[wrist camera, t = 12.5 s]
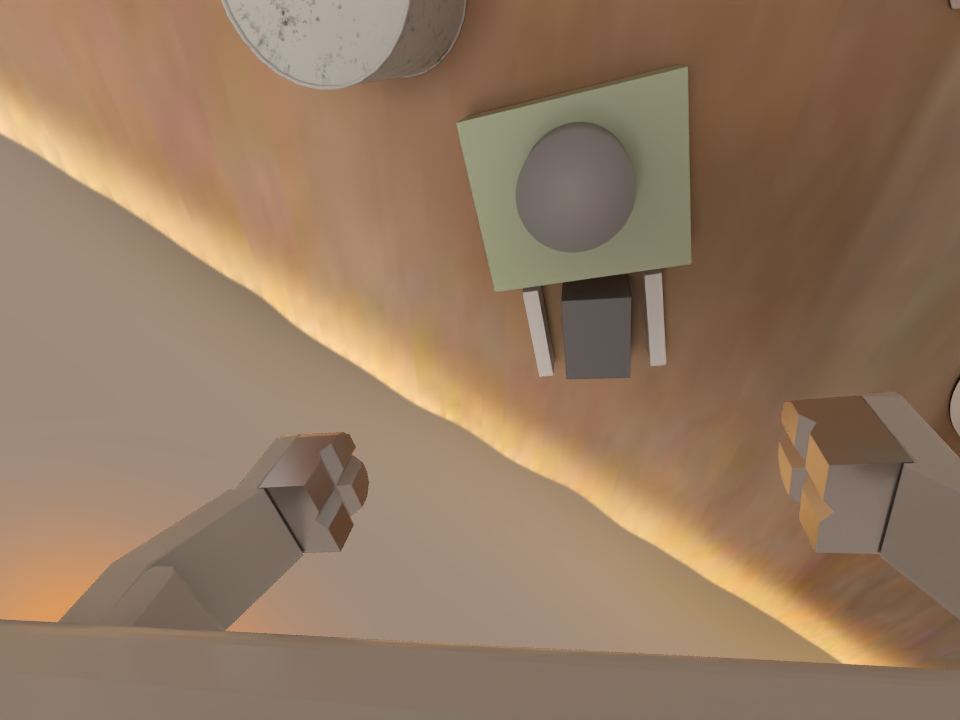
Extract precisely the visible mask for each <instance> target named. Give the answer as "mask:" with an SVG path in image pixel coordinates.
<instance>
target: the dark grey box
mask: <svg viewBox="0 0 960 720" xmlns="http://www.w3.org/2000/svg"><path fill="white" fill-rule="evenodd" d="M561 303H562V318H563V333H564V349H565V364H566V379H597V378H630V353H631V293H630V288H629V283H628V278H627V274H625V275H611V276H604V277H597V278H590V279H583V280H576V281H569V282H563V288H562V300H561Z"/></svg>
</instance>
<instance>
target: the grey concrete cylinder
mask: <svg viewBox="0 0 960 720" xmlns="http://www.w3.org/2000/svg"><path fill="white" fill-rule="evenodd" d="M221 2H222V4H223V6H224V9H225V11H226V13H227V16H228V18H229V19H230V21H231V23H232V24H233V26H234V27H235V29H236V31H237V32H238V34H239V35H240V37H241V39H242V40H243V41H244V43H245V44H246V45H247V46H248V47H249V48H250V49H251V51H252V52H253V53H254V54H255V55H256V56H257V57H258V58H259V60H260V61H262V62H263V63H264V64H266V65H267V66H268V67H269V68H271V69H272V70H273V71H274V72H276V73H277V74H278V75H280V76H282V77H284V78H286V79H288V80H290V81H292V82H294V83H296V84H298V85H300V86H304V87H309V88H313V89H318V90H334V89H343V88H346V87H349V86H352V85H355V84H362V83H368V82H374V81H380V80H386V79H393V78H403V77H413V76H416V75H419V74H422V73H425V72H427V71H429V70H430V69H432V68H433V67H435V66H436V65H438V64H439V63H440V62H441V61H442V60H443V59H444V57H445V56H446V55H447V54H448V53H449V52H450V50H451V49H452V47H453V45H454V43H455V42H456V40H457V38H458V36H459V33H460V30H461V27H462V24H463V21H464V17H465V10H466V2H467V0H221Z"/></svg>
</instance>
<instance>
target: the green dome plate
mask: <svg viewBox="0 0 960 720" xmlns="http://www.w3.org/2000/svg"><path fill="white" fill-rule="evenodd" d="M456 125H457V129H458V134H459V138H460V142H461V147H462V151H463V155H464V160H465V164H466V168H467V173H468V177H469V181H470V186H471V190H472V195H473V199H474V203H475V208H476V212H477V216H478V221H479V225H480V229H481V234H482V238H483V242H484V247H485V251H486V255H487V260H488V264H489V268H490V273H491V277H492V281H493V286H494V290H495V292H500V291H507V290H514V289H521V288H524V289H523V297H524V302H525V307H526V312H527V317H528V322H529V327H530V332H531V337H532V342H533V347H534V352H535V357H536V362H537V367H538V372H539V377H541V376H552V375H553V372H554V362H555V359H554V354H553V348H552V342H551V337H550V331H549V326H548V320H547V315H546V309H545V303H544V298H543V292H542V287H541V286H542V285H549V284H556V283H562V282H569V281H576V280H583V279H590V278H597V277H604V276H611V275H618V274H625V273H632V272H639V271H642V280H643V295H644V309H645V323H646V337H647V351H648V356H649V360H650V365H651V366H658V365H666V350H665V330H664V310H663V290H662V273H661V270H660V268H667V267H674V266H681V265H688V264H691V214H690V159H689V104H688V67H687V66H681V65H674V66H670V67H666V68H662V69H657V70H653V71H649V72H645V73H641V74H637V75H633V76H629V77H625V78H621V79H617V80H613V81H609V82H604V83H600V84H596V85H592V86H588V87H584V88H580V89H576V90H572V91H568V92H564V93H560V94H556V95H551V96H547V97H543V98H539V99H535V100H531V101H527V102H523V103H519V104H515V105H511V106H507V107H503V108H498V109H494V110H490V111H486V112H482V113H478V114H474V115H470V116H467V117H465V118H464V119H462V120H460V121H459V122H457V123H456Z"/></svg>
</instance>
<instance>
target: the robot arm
mask: <svg viewBox="0 0 960 720" xmlns="http://www.w3.org/2000/svg"><path fill="white" fill-rule="evenodd" d="M950 416H951V421H952V424H953V426H954V428H955V430H956V432H957V433H958V435H959V436H960V381H959V382H958V384H957V386H956V388H955V390H954V393H953V396H952V400H951V405H950ZM781 422H782V424H783V426H784V428H785V430H786V432H787V434H786V435H785V436H784V437H783V438H782V439H781V440H780V441H779V451H778V459H779V467H780V474H781V477H782V480H783V484H784V486H785V488H786V491H787V493H788V495H789V497H790V498H792V499H793V500H795V501H796V502H798V503H799V504H800V513H799V519H800V521H801V524H802V526H803V528H804V530H805V532H806V534H807V536H808V538H809V541H810V543H811V545H812V547H813V549H814V551H815V552H819V553H859V554H880V557H881V558H882V559H883V560H884V561H886V562H887V563H888V564H890V565H891V566H892V567H893V568H895V569H896V570H897V571H898V572H900V573H901V574H902V575H904V576H905V577H906V578H907V579H909V580H910V581H911V582H912V583H914V584H915V585H916V586H918V587H919V588H920V589H921V590H923V591H924V592H925V593H926V594H928V595H929V596H930V597H932V598H933V599H934V600H935V601H937V602H938V603H939V604H940V605H942V606H943V607H944V608H946V609H947V610H948V611H949V612H951V613H952V614H953V615H954V616H956V617H957V618H958V619H960V458H959V457H958V456H957V455H956V453H955V452H954V451H953V450H952V449H951V448H950V447H949V446H948V445H947V444H946V443H945V442H944V441H943V440H942V439H941V437H940V436H939V435H938V434H937V433H936V432H935V431H934V430H933V429H932V428H931V427H930V426H929V425H928V424H927V422H926V421H925V420H924V419H923V418H922V417H921V416H920V415H919V414H918V413H917V412H916V411H915V410H914V409H913V408H912V406H911V405H910V404H909V403H908V402H907V401H906V400H905V399H904V398H903V397H902V396H901V395H900V394H898V393H895V392H893V391H892V392H881V393H871V394H860V395H855V396H848V397H835V398H821V399H808V400H795V401H785V403H784V406H783V408H782V416H781ZM355 448H356V446H355V444H354V443H353V440H352V438H351V437H350V435H349V434H346V433H344V432H336V433H314V434H302V435H300V434H298V435H283V436H281V437H279V438H276V439H275V440H274V442H273V443H272V444H271V445H270V447H269V448H268V449H267V450H266V452H265V453H264V454H263V455H262V457H261V458H260V459H259V460H258V462H257V463H256V464H255V465H254V467H253V468H252V469H251V470H250V472H249V473H248V474H247V475H246V477H245V478H244V479H243V480H242V482H241V483H240V484H239V485H238V487H237V488H236V489H235V490H228V491H226V492H225V493H223V494H222V495H220V496H218V497H217V498H215V499H214V500H212V501H210V502H209V503H207V504H206V505H204V506H202V507H201V508H199V509H198V510H196V511H194V512H193V513H191V514H190V515H188V516H186V517H185V518H184V519H182V520H180V521H179V522H177V523H176V524H174V525H173V526H171V527H169V528H168V529H166V530H164V531H163V532H161V533H159V534H158V535H156V536H155V537H153V538H151V539H150V540H148V541H147V542H145V543H144V544H142V545H140V546H139V547H137V548H136V549H134V550H132V551H131V552H129V553H128V554H126V555H124V556H123V557H121V558H120V559H118V560H116V561H115V562H113V563H112V564H111V565H110V566H109V567H108V568H107V569H106V570H105V571H104V572H103V573H102V575H101V576H100V577H99V578H98V579H97V580H96V581H95V582H94V583H93V584H92V585H91V586H90V588H89V589H88V590H87V591H86V592H85V593H84V594H83V595H82V596H81V597H80V599H78V601H77V602H76V603H75V604H74V605H73V606H72V607H71V608H70V609H69V610H68V612H67V613H66V614H65V615H64V616H63V617H62V618H61V619H60V620H59V621H58V622H40V621H39V622H38V621H21V620H2V619H0V720H960V670H945V669H926V668H907V667H888V666H869V665H850V664H832V663H813V662H794V661H793V662H792V661H774V660H755V659H736V658H718V657H700V656H699V657H698V656H681V655H662V654H643V653H624V652H603V651H586V650H567V649H547V648H527V647H509V646H490V645H470V644H451V643H432V642H431V643H430V642H413V641H393V640H377V639H359V638H341V637H322V636H302V635H286V634H266V633H248V632H229V631H228V632H227V631H225V630H226V629H227V628H228V627H229V626H230V625H231V624H232V623H233V622H235V620H237V619H238V618H239V617H240V616H241V615H242V614H243V613H244V612H245V611H246V610H247V609H248V608H249V607H250V606H251V605H252V604H253V603H254V602H255V601H256V600H257V599H258V598H259V597H260V596H262V595H263V594H264V593H265V592H266V591H267V590H268V589H269V588H270V587H271V586H272V585H273V584H274V583H275V582H276V581H277V580H278V579H279V578H280V577H281V576H282V575H283V574H284V573H285V572H286V571H287V570H288V569H289V568H291V567H292V566H293V565H294V564H295V563H296V562H297V561H298V560H299V559H300V558H301V557H302V556H303V553H315V552H340V551H341V550H342V548H343V546H344V543H345V541H346V540H347V538H348V535H349V533H350V531H351V529H352V527H353V525H354V524H353V521H352V518H351V516H352V515H353V514H354V513H356V512H357V511H358V510H359V509H361V508H362V506H363V504H364V502H365V500H366V497H367V493H368V485H369V481H368V475H367V471H366V468H365V466H364V464H363V462H361V461H360V460H359V459H357V458H356V457H355V456H353V454H354V451H355Z"/></svg>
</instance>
